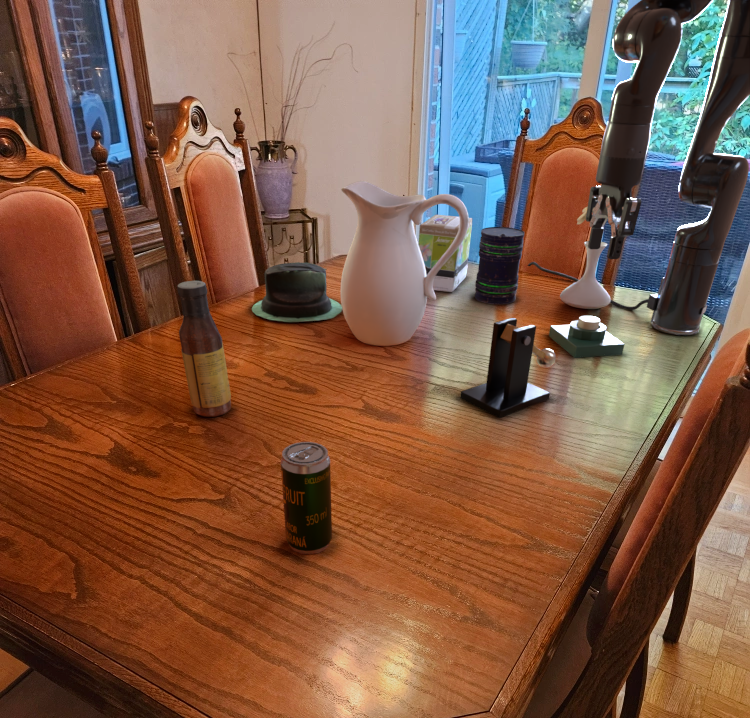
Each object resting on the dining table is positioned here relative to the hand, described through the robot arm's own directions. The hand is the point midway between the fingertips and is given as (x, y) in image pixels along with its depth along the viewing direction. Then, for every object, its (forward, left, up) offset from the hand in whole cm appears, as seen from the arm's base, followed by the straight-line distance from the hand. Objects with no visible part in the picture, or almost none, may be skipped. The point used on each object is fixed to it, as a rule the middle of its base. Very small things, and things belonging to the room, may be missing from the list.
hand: (603, 253), depth 123 cm
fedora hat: (-31, -54, -18) cm, 65 cm away
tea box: (-46, -16, -18) cm, 52 cm away
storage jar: (-32, -7, -18) cm, 37 cm away
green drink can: (+54, -62, -18) cm, 84 cm away
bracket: (+21, -25, -18) cm, 37 cm away
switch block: (0, 0, -18) cm, 18 cm away
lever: (+19, -21, -11) cm, 31 cm away
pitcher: (-9, -36, -18) cm, 41 cm away
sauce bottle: (+17, -73, -18) cm, 77 cm away
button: (0, 0, -14) cm, 14 cm away
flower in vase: (-23, +11, -18) cm, 31 cm away
